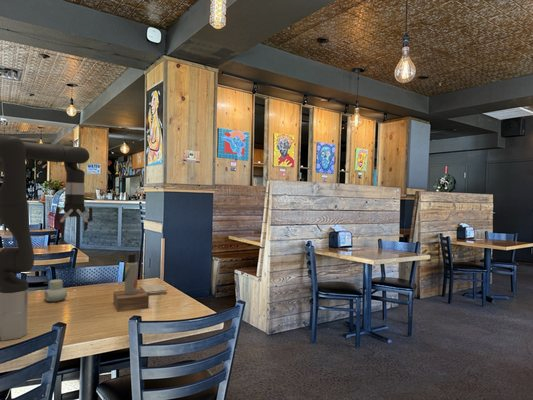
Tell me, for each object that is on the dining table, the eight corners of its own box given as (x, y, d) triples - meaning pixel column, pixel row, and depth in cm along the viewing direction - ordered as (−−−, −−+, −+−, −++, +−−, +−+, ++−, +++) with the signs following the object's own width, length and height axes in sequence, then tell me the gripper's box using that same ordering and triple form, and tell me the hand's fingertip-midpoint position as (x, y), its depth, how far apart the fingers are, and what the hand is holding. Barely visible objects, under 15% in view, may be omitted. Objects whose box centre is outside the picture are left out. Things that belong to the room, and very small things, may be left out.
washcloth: (146, 297, 198) (146, 291, 198) (138, 289, 213) (138, 284, 213) (168, 294, 204) (168, 289, 204) (159, 287, 220) (159, 282, 220)
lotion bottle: (138, 292, 183) (139, 252, 183) (134, 295, 177) (136, 254, 177) (126, 292, 183) (128, 251, 183) (122, 295, 177) (124, 253, 177)
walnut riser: (148, 308, 178) (148, 295, 178) (117, 311, 171) (117, 299, 171) (142, 300, 190) (142, 289, 190) (113, 303, 183) (113, 291, 183)
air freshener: (43, 299, 186) (43, 279, 186) (61, 296, 192) (61, 277, 192) (49, 304, 179) (49, 283, 178) (67, 301, 184) (68, 281, 184)
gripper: (55, 193, 152) (54, 232, 152) (93, 194, 159) (92, 231, 159) (55, 192, 159) (54, 230, 159) (92, 193, 166) (91, 229, 166)
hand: (73, 230), depth 159 cm, fingers open, 8 cm apart
